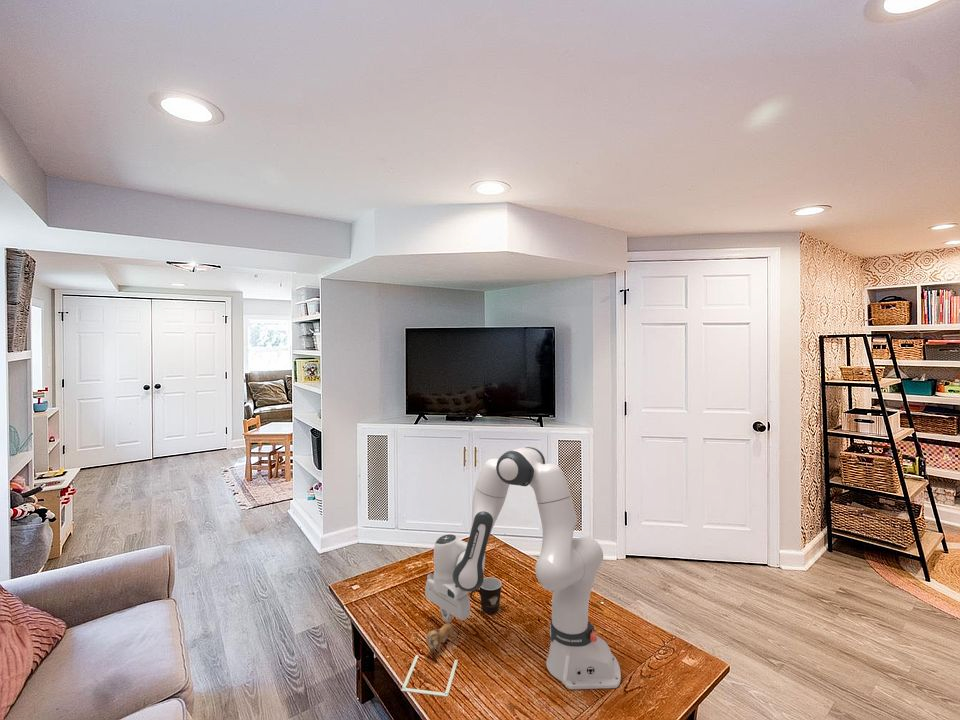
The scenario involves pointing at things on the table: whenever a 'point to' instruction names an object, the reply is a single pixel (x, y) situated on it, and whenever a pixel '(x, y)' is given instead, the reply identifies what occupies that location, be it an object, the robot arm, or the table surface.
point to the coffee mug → (489, 595)
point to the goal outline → (425, 690)
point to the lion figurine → (439, 637)
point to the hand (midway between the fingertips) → (446, 620)
